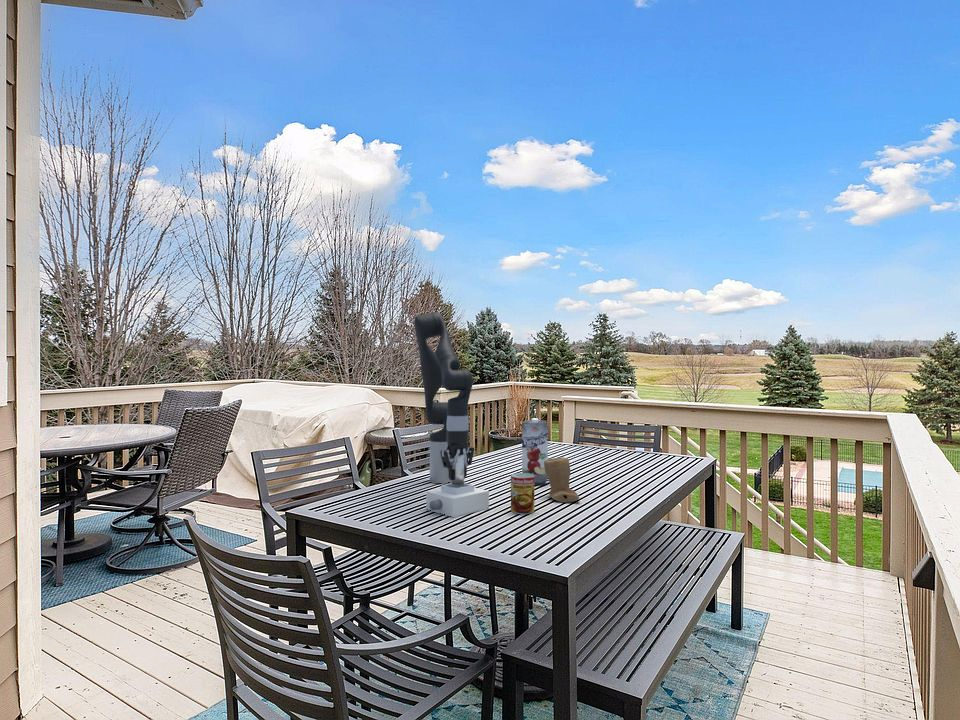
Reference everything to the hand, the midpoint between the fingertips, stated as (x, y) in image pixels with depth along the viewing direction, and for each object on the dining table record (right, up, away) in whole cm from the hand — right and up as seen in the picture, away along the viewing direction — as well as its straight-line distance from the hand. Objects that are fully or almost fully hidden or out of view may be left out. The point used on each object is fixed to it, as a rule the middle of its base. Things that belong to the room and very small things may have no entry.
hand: (457, 478), depth 192 cm
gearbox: (-1, -10, -1) cm, 10 cm away
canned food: (+22, -10, -3) cm, 24 cm away
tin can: (0, -2, 0) cm, 2 cm away
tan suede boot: (+37, -11, +15) cm, 41 cm away
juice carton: (+30, -11, +41) cm, 52 cm away
